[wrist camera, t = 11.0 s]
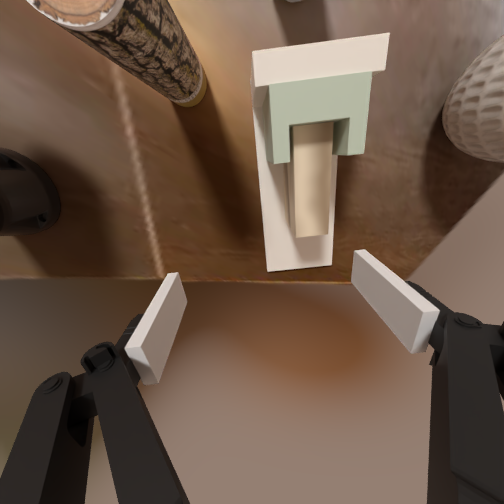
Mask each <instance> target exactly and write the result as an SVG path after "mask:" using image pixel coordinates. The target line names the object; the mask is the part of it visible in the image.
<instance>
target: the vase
mask: <svg viewBox="0 0 504 504" xmlns="http://www.w3.org/2000/svg"><path fill="white" fill-rule="evenodd" d="M442 123H443V128H444V130H445V133H446V135H447V137H448V138H449V140H450V141H451V142H452V143H453V144H454V145H455V146H456V147H457V148H458V149H459V150H461V151H463V152H464V153H466V154H468V155H470V156H472V157H475V158H479V159H483V160H487V161H493V162H504V35H502V36H501V37H500V38H499V39H497V40H496V41H495V42H494V43H492V44H491V45H490V46H489V47H488V48H486V49H485V50H484V51H483V52H482V53H481V54H480V55H479V56H478V57H477V58H475V59H474V60H473V62H472V63H471V64H470V65H469V66H468V67H467V69H466V70H465V71H464V72H463V73H462V75H461V76H460V77H459V78H458V80H457V81H456V83H455V84H454V86H453V87H452V89H451V91H450V93H449V94H448V96H447V99H446V101H445V104H444V108H443V113H442Z"/></svg>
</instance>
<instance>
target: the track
mask: <svg viewBox="0 0 504 504" xmlns="http://www.w3.org/2000/svg"><path fill="white" fill-rule="evenodd" d="M389 34H390V33H384V34H376V35H369V36H361V37H354V38H347V39H339V40H332V41H324V42H317V43H309V44H302V45H294V46H287V47H280V48H272V49H265V50H257V51H252V66H251V80H250V84H251V95H252V107H253V118H254V129H255V140H256V151H257V162H258V173H259V184H260V195H261V206H262V217H263V228H264V239H265V250H266V261H267V271H268V272H270V271H279V270H289V269H299V268H308V267H318V266H328V265H332V248H333V230H334V212H335V194H336V176H337V158H338V155H332V166H331V187H330V208H329V229H328V234H326V235H317V236H307V237H298V238H296V237H295V236H294V234H293V232H292V230H291V228H290V227H289V225H288V223H287V221H286V219H285V197H284V173H283V163H279V164H273V163H271V162H268V161H266V150H265V136H264V123H263V109H262V105H263V102H264V99H265V96H266V92H267V89H268V86H269V84H275V83H283V82H291V81H299V80H306V79H314V78H322V77H330V76H337V75H345V74H353V73H360V72H368V71H372V77H374V76H376V75H377V74H379V73H381V72H383V71H384V70H385V66H386V58H387V50H388V42H389Z"/></svg>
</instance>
